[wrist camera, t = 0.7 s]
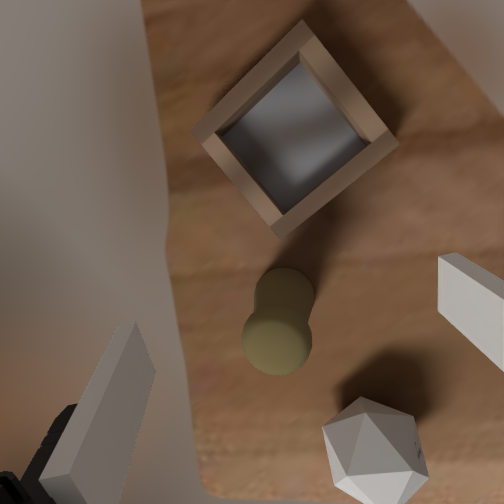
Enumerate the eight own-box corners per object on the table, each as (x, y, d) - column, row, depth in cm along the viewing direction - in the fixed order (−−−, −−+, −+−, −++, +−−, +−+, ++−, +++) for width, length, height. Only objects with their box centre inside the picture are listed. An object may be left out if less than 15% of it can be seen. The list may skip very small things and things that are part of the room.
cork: (295, 256, 33) (290, 294, 22) (325, 308, 34) (335, 369, 23) (243, 284, 34) (215, 332, 24) (273, 333, 35) (259, 402, 24)
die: (387, 466, 37) (469, 509, 28) (316, 494, 34) (381, 553, 25) (368, 385, 39) (440, 400, 29) (298, 406, 36) (354, 430, 26)
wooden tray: (389, 147, 30) (400, 144, 26) (283, 233, 33) (280, 240, 29) (302, 37, 29) (302, 18, 25) (202, 135, 32) (189, 130, 28)
